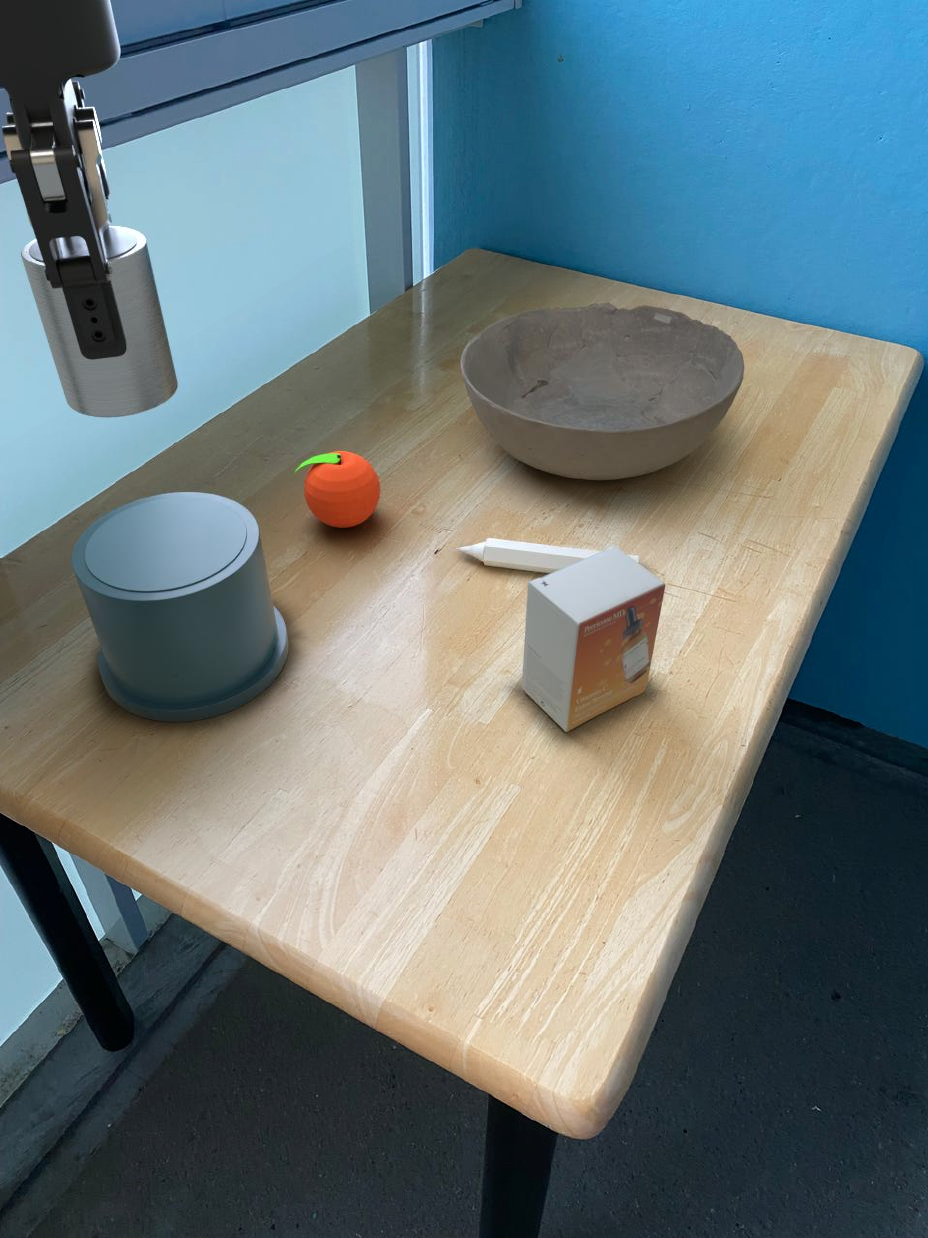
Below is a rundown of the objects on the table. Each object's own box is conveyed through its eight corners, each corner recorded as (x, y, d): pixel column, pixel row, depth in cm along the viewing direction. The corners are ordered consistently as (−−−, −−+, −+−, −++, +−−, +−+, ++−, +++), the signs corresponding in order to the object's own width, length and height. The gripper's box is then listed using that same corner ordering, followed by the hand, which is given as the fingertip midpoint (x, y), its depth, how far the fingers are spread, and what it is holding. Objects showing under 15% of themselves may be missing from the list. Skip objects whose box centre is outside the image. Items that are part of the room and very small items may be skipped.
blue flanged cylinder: (100, 739, 67) (55, 623, 60) (103, 613, 77) (65, 501, 70) (300, 700, 70) (280, 585, 62) (277, 583, 80) (257, 473, 73)
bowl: (755, 412, 102) (774, 325, 96) (679, 547, 84) (697, 450, 77) (527, 362, 112) (530, 279, 105) (413, 472, 93) (409, 381, 87)
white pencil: (455, 562, 84) (635, 582, 81) (451, 565, 81) (635, 585, 79) (458, 533, 83) (639, 552, 80) (453, 535, 81) (639, 555, 78)
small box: (565, 735, 67) (576, 625, 60) (519, 689, 70) (524, 580, 64) (649, 691, 70) (668, 582, 63) (601, 649, 74) (615, 541, 67)
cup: (64, 424, 49) (16, 272, 44) (67, 374, 53) (23, 230, 48) (181, 408, 50) (147, 258, 45) (175, 361, 55) (143, 219, 49)
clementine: (291, 542, 85) (281, 476, 80) (302, 500, 90) (293, 434, 85) (379, 543, 85) (374, 476, 80) (385, 500, 90) (380, 434, 85)
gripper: (-74, -75, 43) (38, 286, 54) (-130, -38, 32) (22, 401, 43) (96, -80, 44) (171, 272, 55) (95, -46, 34) (187, 379, 45)
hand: (105, 327), depth 49 cm, fingers closed on cup, 6 cm apart
